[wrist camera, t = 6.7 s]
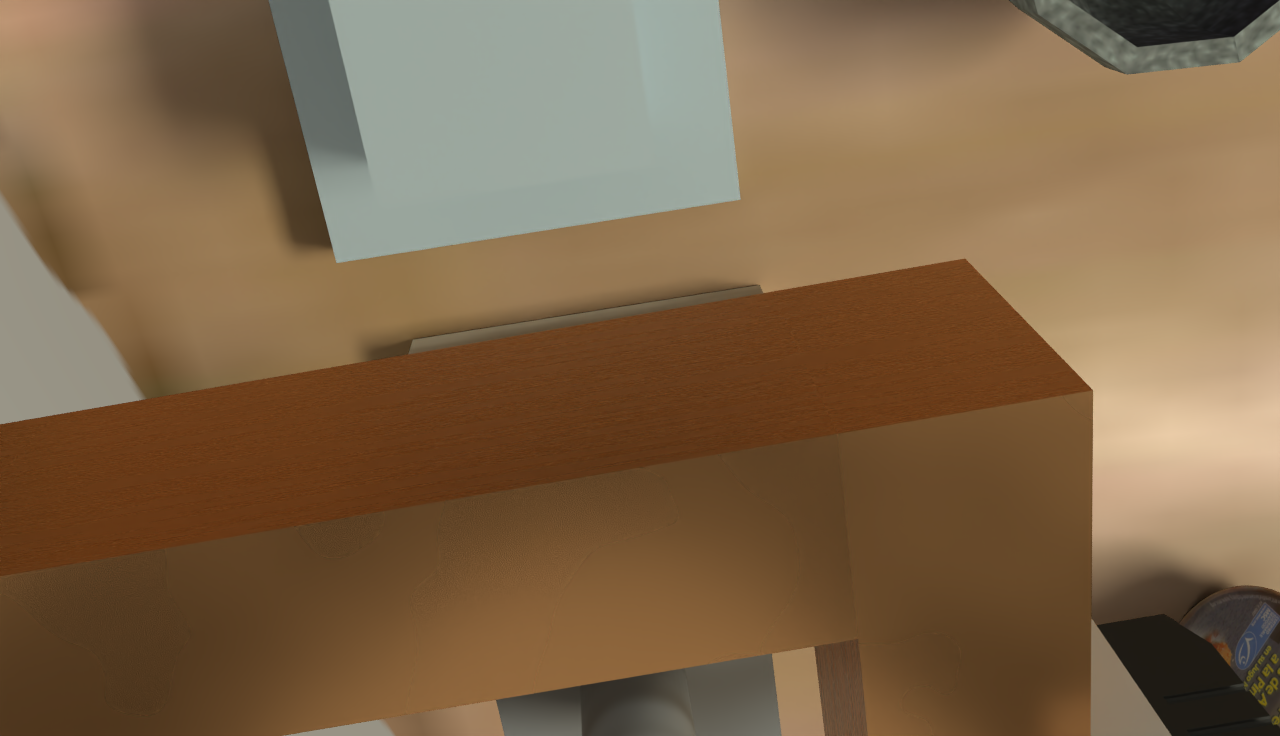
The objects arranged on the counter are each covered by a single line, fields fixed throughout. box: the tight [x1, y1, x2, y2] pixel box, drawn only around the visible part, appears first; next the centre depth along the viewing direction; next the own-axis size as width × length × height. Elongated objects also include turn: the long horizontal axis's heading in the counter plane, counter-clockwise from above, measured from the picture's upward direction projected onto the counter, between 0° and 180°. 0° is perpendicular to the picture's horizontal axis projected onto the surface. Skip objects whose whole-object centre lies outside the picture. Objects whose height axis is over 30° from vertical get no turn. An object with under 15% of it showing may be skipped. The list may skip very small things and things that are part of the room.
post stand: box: [408, 285, 781, 736], centre depth 33 cm, size 12×12×18 cm
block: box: [269, 0, 740, 263], centre depth 32 cm, size 13×13×7 cm
